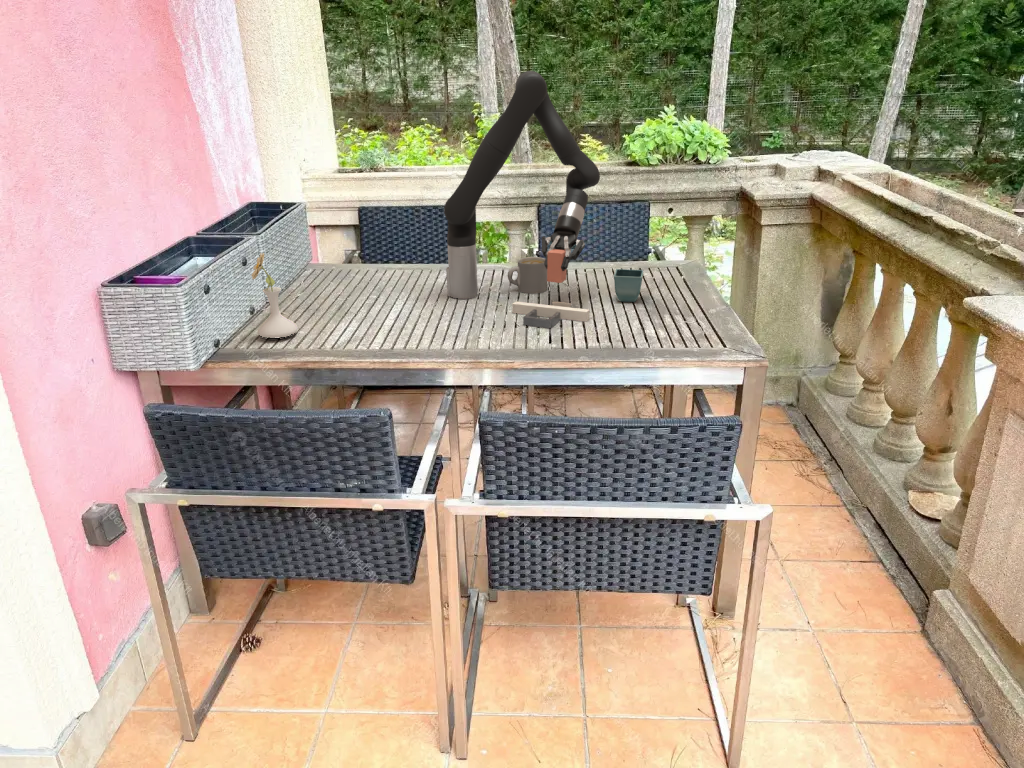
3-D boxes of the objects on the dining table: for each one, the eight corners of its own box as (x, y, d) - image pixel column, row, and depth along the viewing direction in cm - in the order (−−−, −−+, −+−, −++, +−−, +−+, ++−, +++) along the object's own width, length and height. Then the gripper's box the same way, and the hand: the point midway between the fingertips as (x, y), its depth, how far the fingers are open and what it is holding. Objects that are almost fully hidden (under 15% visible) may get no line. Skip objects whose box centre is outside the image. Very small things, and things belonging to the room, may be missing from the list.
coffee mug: (546, 285, 266) (546, 256, 262) (548, 293, 257) (548, 263, 253) (507, 286, 266) (506, 257, 262) (508, 294, 257) (507, 264, 253)
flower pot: (640, 304, 243) (642, 276, 240) (612, 303, 245) (613, 275, 241) (642, 296, 251) (643, 269, 248) (615, 295, 253) (615, 268, 249)
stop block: (547, 281, 235) (547, 252, 231) (552, 277, 238) (553, 249, 235) (561, 283, 233) (561, 253, 229) (566, 279, 237) (566, 250, 233)
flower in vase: (265, 329, 228) (252, 245, 218) (303, 329, 227) (292, 245, 218) (250, 344, 216) (236, 256, 206) (290, 344, 215) (278, 256, 206)
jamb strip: (512, 313, 238) (512, 303, 236) (527, 303, 247) (526, 293, 246) (586, 321, 228) (586, 312, 227) (598, 311, 238) (598, 301, 237)
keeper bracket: (523, 325, 227) (523, 317, 226) (533, 317, 233) (533, 309, 232) (550, 328, 223) (550, 320, 222) (560, 320, 230) (560, 312, 229)
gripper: (545, 212, 237) (529, 259, 232) (589, 215, 232) (574, 264, 226) (551, 226, 244) (536, 272, 238) (594, 230, 238) (579, 277, 233)
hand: (554, 268), depth 232 cm, fingers closed on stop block, 4 cm apart
